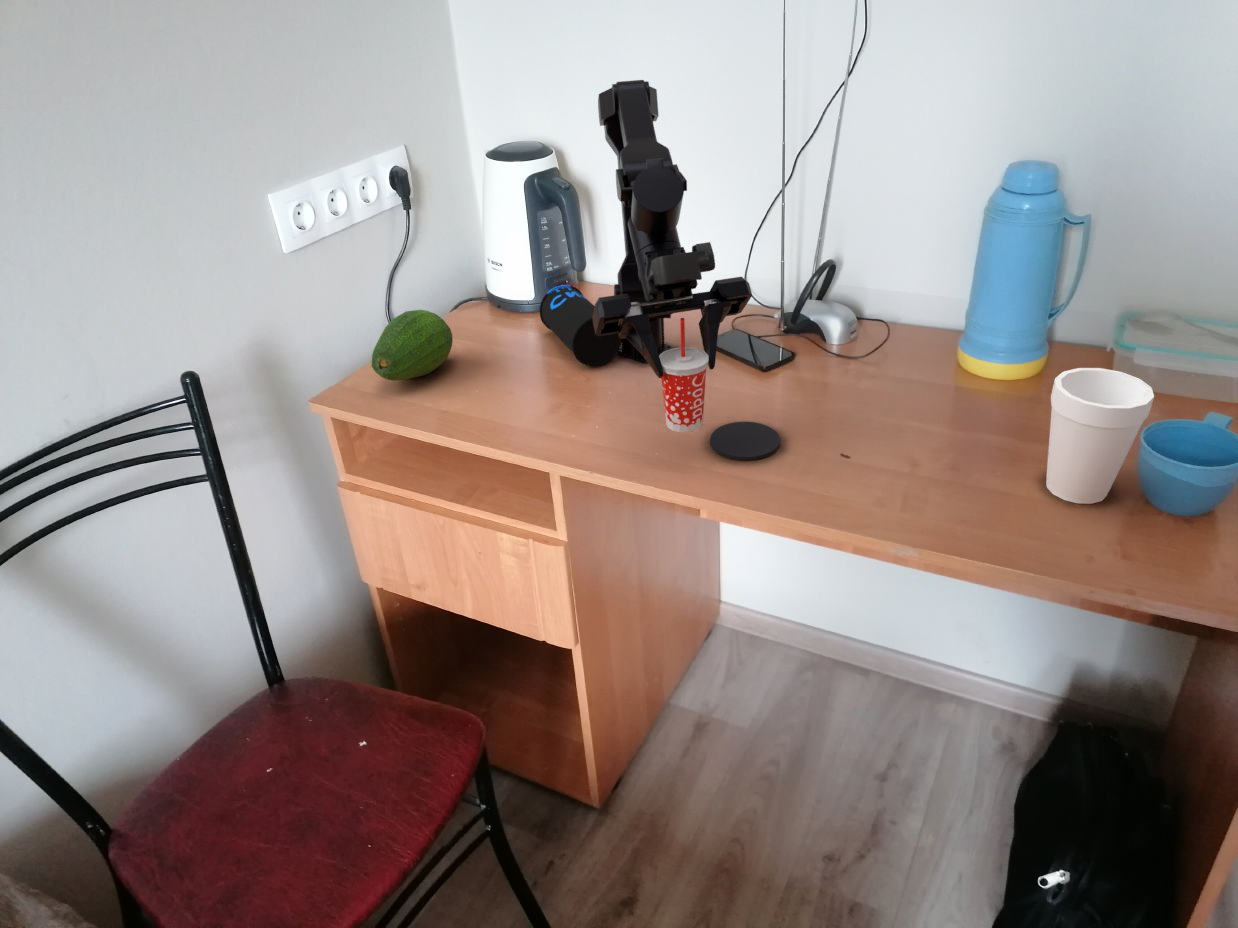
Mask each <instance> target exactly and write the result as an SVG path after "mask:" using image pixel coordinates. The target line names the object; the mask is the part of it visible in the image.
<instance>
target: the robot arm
mask: <svg viewBox="0 0 1238 928" xmlns="http://www.w3.org/2000/svg"><path fill="white" fill-rule="evenodd" d="M597 110H598V111H597V112H598V121H599V123H598V124H599V127H601V126H603V128H604V129H603V130H604V138H605V139H604V140H605V141H606V143H607V144H608V146H609V147H610V148H611V150H612V151H613V153H614V154H615V156H616V158H617V168H616V169H615V185H616V194H617V195H616V197H617V199H618V201H619V202H620V205H621V215H622V229H623V240H624V250H625V251H624V253H625V257H624V259H623V261H622V263H621V265H620V267H619V270H618V272H617V283H615V284H614V283H613V284H614V285H613V295H608V296H602V297H601V296H600V297H599V298H598V299H597V300H596V302H595V303H594V306H595V307H594V312H593V316H592V318H593V326H594V330H595V335H597V336H603V335H609V334H616V333H619V334H618V335H619V338H620V339H622V340H621V346H620V348H619V350H618V352H617V354H620V355H622V356H625V357H627V358H629V359H632V360H635V361H638V362H640V363H643V364H645V363H647V364H648V365H649V367H650V368H651V369H652V371H653V372H654V374H655V375H656V377H657V378H659V379H661V378H662V377H663V370H662V364H661V361H660V358H659V355H660V354H661V353H662V352H664V351H666V350H669V349H672V348H673V347H672V346H671V345H668V344H666V343H665V319H672V315H673V314H677V313H683V312H692V311H698V310H700V313H701V317H700V320H699V322H698V328H699V332H700V337H701V342H702V347H703V351H705V352H706V353H707V354H708V356H709V362H708V368H709V370H710V371H711V370H714V369H715V367H716V360H717V359H716V358H717V347H718V336H719V330H720V325H721V323H723V321H724V320H725V319H726V317H730V316H737V315H739V314H741V313H742V312H743V310H744V309H745V307H746V306H747V304H748V303H749V301H750V300H751V298H752V297H753V293H752V289H751V286H750V285H751V284H750V282H749V281H748V280H746V278H744V277H743V276H736V277H730V278H722V279H716V280H714V282H713V283H712V286H711V288H710V290H709V291H704V292H697V293H696V292H695V293H693V290H695V289H697V286H698V285H699V284H698V281H701V280H702V279H703V278H702V277H703V276H702V273H706V272H707V273H708V272H711V271H714V270H715V268H716V259H715V253H714V249H713V247H712V244H711V241H709V242H702V243H695V244H694V245H692V246H691V251H689V252H686V249H685V247H684V246H682V244H681V241H680V237H679V233H678V228H677V226H678V224H679V220H680V217H681V216H680V215H681V210H682V205H683V199H684V194H685V192H687V191H688V181H687V179H686V177H685V176H684V174H683V173H682V171H680V169H679V166H678V164H677V163H675V164H674V163H673V159H672V155H671V151H670V149H669V148H668V147H667V146H665V145H663V144H662V143H660V142H659V141H658V139H657V135H656V129H655V124H654V122H657V120H658V118H659V115H660V114H659V103H658V90H657V88H655V87H652V86H650V82H649V81H645V80H644V79H634V80H622V81H616V83H612V84H611V87H610V88H608V89H606V90H604V91H601V92H600V93H599V94H598V98H597Z"/></svg>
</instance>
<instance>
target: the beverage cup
mask: <svg viewBox="0 0 1238 928" xmlns="http://www.w3.org/2000/svg"><path fill="white" fill-rule="evenodd" d="M679 323H680V324H679V325H680V346H678V347H672V349H669V350H666V351H664V352H662V353H661V354H660V355H659V358H660V361H661V364H662V370H663V377H662V378H660V379H661V387H662V396H663V407H664V416H665V424H666V425H665V426H667V428H668V429H669V430H671V431H673V432H677V433H692V432H696V431H697V430H700V429H701V428H702V426H703V424H704V411H705V409H704V408H705V393H706V379H707V378H706V377H707V375H706V374H707V369H708V368H709V366H708V362H709V356H708V354H707V353H706V352H705V351H704V350H702V349H700V348H697V347H691V346H686V333H685V331H686V330H685V329H686V328H685V318H684V317H680V321H679Z"/></svg>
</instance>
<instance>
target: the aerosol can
mask: <svg viewBox="0 0 1238 928" xmlns="http://www.w3.org/2000/svg"><path fill="white" fill-rule="evenodd" d="M594 307H595V304H593V303H592V302H591V301H590V300H589V299H588V298H586V297H585V296H584V294H583V293H582V291H581V290H580V289H578V288H577V287H575V286H573V285H569V284H561V285H557V286H555V287H552V288H551V289H550V290H548V291H547V292H546V293H545V295H543V297H542V299H541V301H540V305H539V317H540V320H541V323H542V324H543V326H545V327H546V328H547V329H548V330H550V331H551V332H553V333H554V335H555V336H557V338H558V339H559V340H560V341H561V342H562V343H563V344H564V345H565V346H566V347H567V348H568V349H569V350H570V351H571V352H572V353H573V356H574V358H575V359H576V360H577V361H578V362H579V363H581V364H582V365H584V366H587V367H592V368H593V367H601V366H603V365H605V364H608V362H610V361H611V360H613V359H614V358H615V357H616V355H617V354H618V353H617V352H618V350H619V348H620V347H621V346H622V343H621V340H622V339H620V338H619V335H618V334H619V333H616V334H609V335H603V336H597V335H595V330H594V326H593V318H592V316H593V312H594Z"/></svg>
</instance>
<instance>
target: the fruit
mask: <svg viewBox="0 0 1238 928" xmlns="http://www.w3.org/2000/svg"><path fill="white" fill-rule="evenodd" d="M452 346H453V333H452V329H451V328H450V326H449V325H448V323H447V322H446V321H445V320H444V319H443V318H442V317H441V316H439V315H438V314H436V313H435V312H432V311H430V310H424V309H414V310H406V311H404V312H402V313H401V314H398V315H397V316H396V317H394V318H393V319H391V320H390V321H389V322H388V324H387V325H385V327H384V329H383V331H382V333H381V335H380V336H379V338H378V339H377V342H376V344H375V346H374V348H373V351H372V353H371V368H372V369H373V371H374V372H375V374H377V375H379V376H380V377H381V378H382V379H385V380H388V381H403V380H408V379H412V378H419V377H422V376H427V375H429V374H431V373H432V372H433V371H435V370H436V369H437V368H439V367H440V366H441V365H442V364H443V363H444V362H445V361H446V360H447V359H448V357H449V355H450V352H451V350H452Z"/></svg>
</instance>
